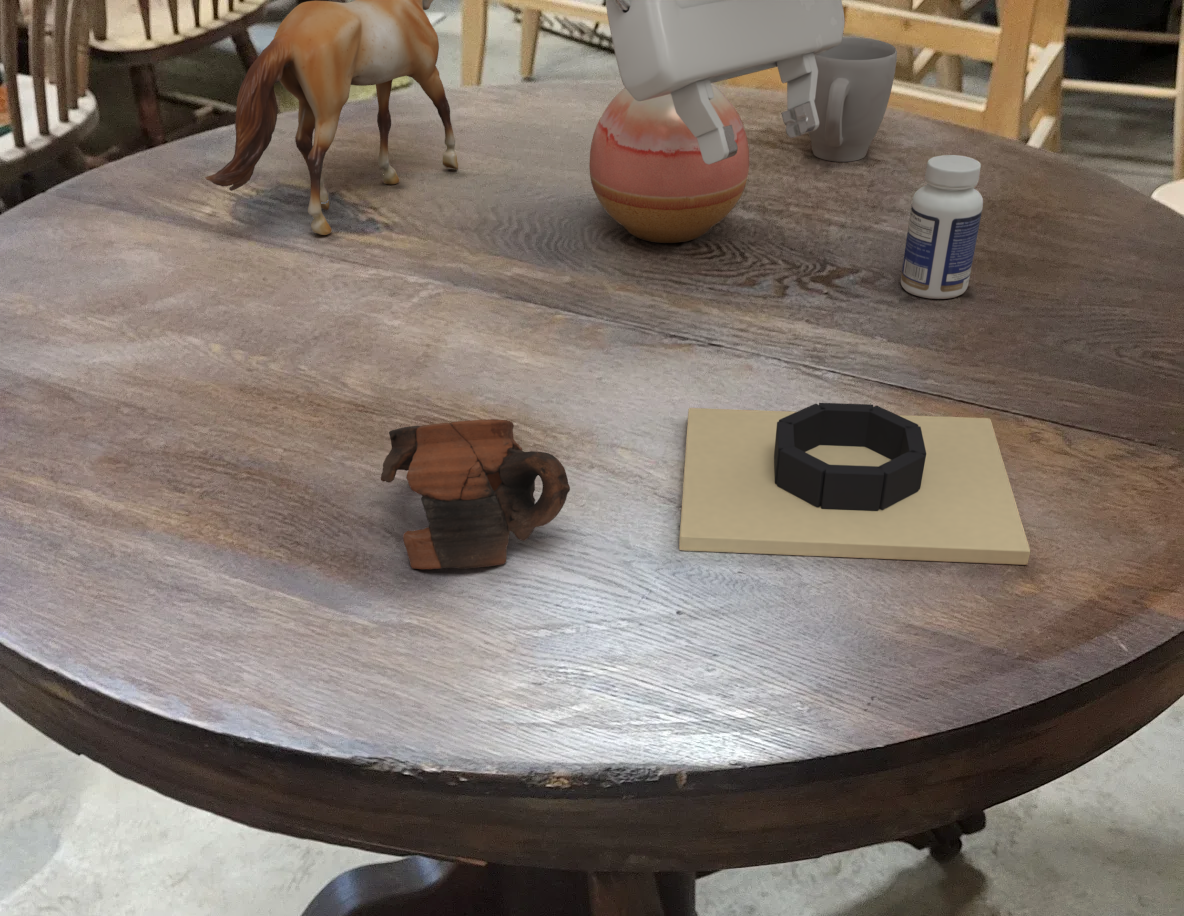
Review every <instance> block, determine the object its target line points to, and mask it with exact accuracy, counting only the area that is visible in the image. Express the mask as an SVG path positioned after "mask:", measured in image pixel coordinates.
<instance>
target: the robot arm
mask: <svg viewBox="0 0 1184 916" xmlns="http://www.w3.org/2000/svg"><path fill="white" fill-rule="evenodd" d="M605 7H606V8H605V9H606V14H607V20H608V26H609V31H610V36H611V42H612V47H613V51H614V55H615V61H616V64H617V68H618V71H619V77H620V79H621V83H622V86H623V88H626V89H627V91H628V92H629V93H630V94H631V95H632V96H633V97H634V99H635V100H637V101H644V100H648V99H652V98H656V97H660V96H664V95H668V94H671V96H672V99H673V103H674V106H675V110H676V113H677V114H678V116H679V117H680V118H681V120H682V121H683V122H684V123H685V125H686V126H687V127H688V129H689V130H690V131H691V132H692V134H693V135H694V136H695V137H697V140H698V144H699V147H700V151H701V154H702V158H703V161H704V162H705V163H706V164H712V163H716V162H718V161H721V160H724V159H727V158H729V157H732V156H735V154H736V153H737V149H738V147H737V143H736V142H735V140H734V132H733V128H732V125H729V126H725V127H723V126H724V125H723V123H722V122H721V120H720V118H719V116H718V115H717V113H716V111H715V110H714V108H713V106H712V104H711V103H710V101H709V100H710V99H712V98H714V94H713V90H712V86H711V83H713V84H715V83H718V82H719V83H720V82H723V81H726V80H730V79H735V78H738V77H742V76H747V75H751V74H755V73H758V72H762V71H767V70H770V69H774V68H777V71H778V74H779V79H780V82H781V83H782V84H786V96H787V97H786V106H787V107H786V108H787V109H786V110H784V111H782V112H781V117H782V121H783V124H784V126H785V132H786V136H787V137H789V138H791V139H794V138H798V137H801V136H804V135H807V134H808V133H809V132H812V131H814V130H817V128H818V127H819V119H818V115H817V110H816V106H815V102H814V100H815V95H816V86H817V77H818V68H817V64H816V60H815V56H816V55H818V54H821V53H823V52H825V51H827V50H829V49H832V48H834V47H836V46H838V45H839V44H840V43H841V41H842V38H843V37H844V31H845V22H846V21H845V19H846V18H845V11H844V6H843V0H605Z"/></svg>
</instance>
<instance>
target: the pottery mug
mask: <svg viewBox="0 0 1184 916" xmlns="http://www.w3.org/2000/svg"><path fill="white" fill-rule="evenodd" d="M514 426H515V425H514V422H512V421H510V420H508V419H498V418H497V419H495V418H494V419H493V418H490V419H474V420H473V419H471V420H457V421H452V422H440V423H439V422H438V423H431V424H430V423H429V424H422V425H410V426H404V427H399V428H395V429H391V430H390V431H388V435H389V439H390V445H391V449H390V451H389V452H388V454H387V455H386V456H385V458H384V461H383V463H382V472H381V475H380V481H381V482H386V483H392V482H393V481H394V480H395V478H396V475H397V472H398V471H405V472H406V480H407V483H408V486H409V488H410V489H411V491H413V492H415V493H416V494H418V495H421V497H420V500H421V503H422V506H423V509H424V512H425V517H426V519H427V521H428V525H429V526H427V527H425V528H423V529H422V528H421V529H415V530H407V531H405V532H404V533H403V535H402V539H403V544H404V547H405V550H406V553H407V557H408V560H409V565H410V567H411V568H412V569H413V570H416V569H417V570H434V569H459V570H465V569H476V568H487V567H494V566H501V565H504V564H506V563H507V552H508V551H507V549H508V545H509V538H510V535H511V533H512V534H513V535H514V536H515V537H516V539H518V540H520V541H521V542H526V541H527V540H528V539H529V538H530V537H531V535H532V533H533V531H534V530H535V529H536V528H538V527H543V526H546V525H548V524H549V523H551V522H552V521H553V520H554V519H555V518H556V517H557V516H558V515H559V514H560V512H561V511H562V509H563V507H564V505H565V503H566V501H567V498H568V495H569V492H570V491H571V486H570V484H569V478H568V475H567V471H566V468H565V467H564V466H563V465H564V464H562V462H561V461H559V459H558V458H557V456H555V455H553V454H552V453H550V452H545V451H533V450H532V451H530V450H529V451H523V447H522V446H521V445H520V444H519V443H517V441H516V440H515V438H514V428H515V427H514ZM538 476H539V479H541V483H542V489H541V494H540V496H539V498H538V499H537V501H536V500H535V499H536V498H535V496H534V493H535V491H536V478H538Z"/></svg>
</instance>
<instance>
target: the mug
mask: <svg viewBox="0 0 1184 916" xmlns="http://www.w3.org/2000/svg"><path fill="white" fill-rule="evenodd" d="M815 60H816V64H817V68H818V77H817V86H816V95H815V100H814V102H815V106H816V110H817V115H818V119H819V127H818V128H817V130H814V131H812V132H809V133H807V134H808V137H809V139H810V143H811V147H812V148H811V150H812V154H813V155H814V156H815V157H817V158H818V159H821V160H824V161H829V162H840V163H847V162H855V161H860V160H862V159H864V158H865V157H866V156H867V154H868V150H869V148H870V147H871V143H872V142H873V140H874V138H875V137H876V135H877V133H878V131H879V130H880V129H879V128H880V127H881V124H882V122H883V120H884V117H885V114H886V111H887V108H888V104H889V101H890V98H891V93H892V89H893V85H894V79H895V73H896V66H897V60H898V50H897V48H896V47H895V46H894V45H893V44H890V43H889V42H886V41H884V40H883V41H882V40H880V39H879V40H878V39H873V38H867V37H857V36H856V37H854V36H843V38H842V41H841V43H840V44H839V45H838V46H836V47H834V48H832V49H829V50H827V51H825V52H823V53H821V54H818V55H816V56H815Z"/></svg>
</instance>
